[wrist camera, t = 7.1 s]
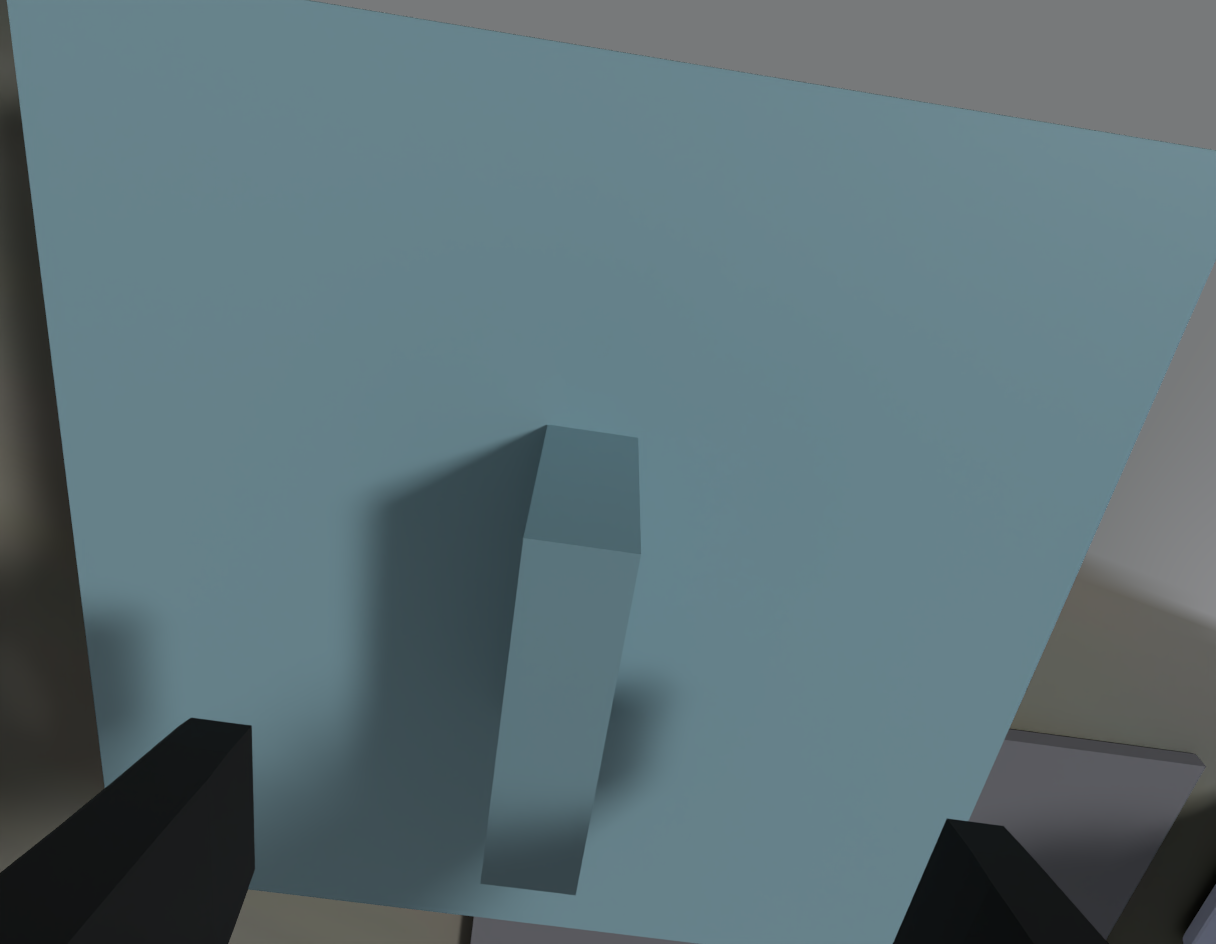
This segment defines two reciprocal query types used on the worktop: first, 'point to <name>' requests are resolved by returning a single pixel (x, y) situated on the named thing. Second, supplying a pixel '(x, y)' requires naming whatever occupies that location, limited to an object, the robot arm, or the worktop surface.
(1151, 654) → the worktop surface
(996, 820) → the mat
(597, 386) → the cover sheet
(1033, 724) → the worktop surface
